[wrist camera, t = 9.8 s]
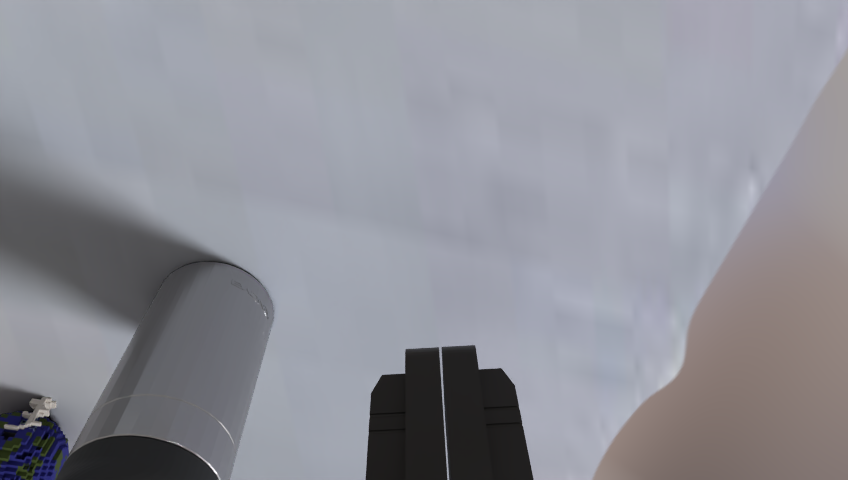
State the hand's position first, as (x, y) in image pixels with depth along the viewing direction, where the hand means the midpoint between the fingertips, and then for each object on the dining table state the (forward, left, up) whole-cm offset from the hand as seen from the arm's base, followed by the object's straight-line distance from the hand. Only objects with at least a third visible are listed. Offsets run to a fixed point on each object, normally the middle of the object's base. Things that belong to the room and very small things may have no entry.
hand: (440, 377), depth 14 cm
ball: (-49, -11, -32) cm, 60 cm away
